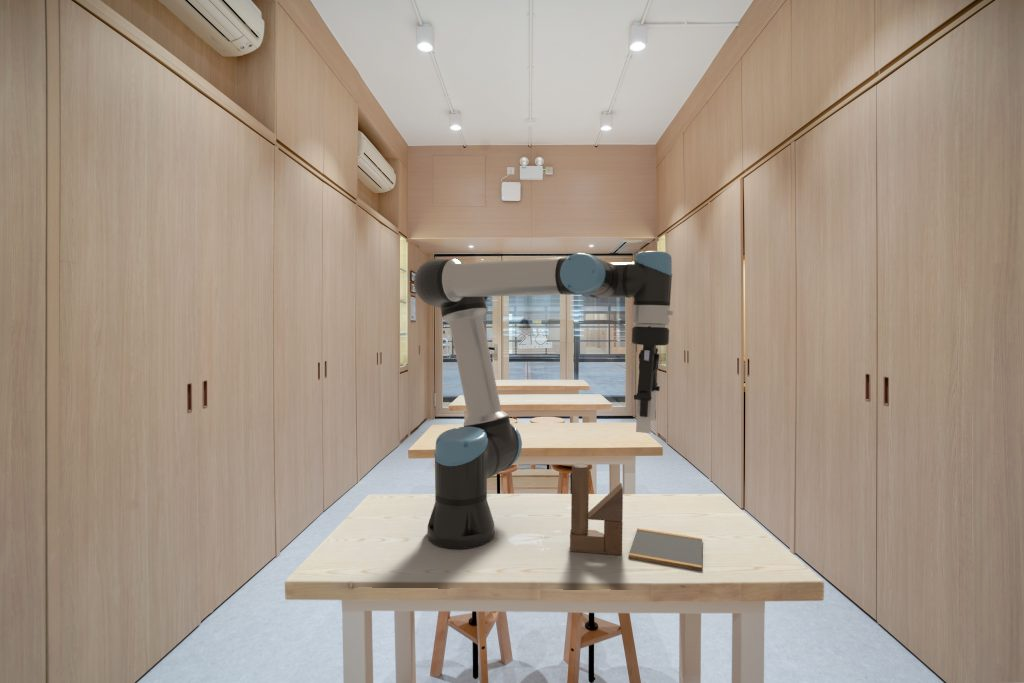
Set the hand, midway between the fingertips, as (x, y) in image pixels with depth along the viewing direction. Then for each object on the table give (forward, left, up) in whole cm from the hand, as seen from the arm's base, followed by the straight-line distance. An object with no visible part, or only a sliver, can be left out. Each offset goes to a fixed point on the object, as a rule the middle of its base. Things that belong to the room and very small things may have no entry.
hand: (646, 425), depth 103 cm
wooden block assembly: (-10, -5, -27) cm, 29 cm away
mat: (+4, +1, -26) cm, 27 cm away
